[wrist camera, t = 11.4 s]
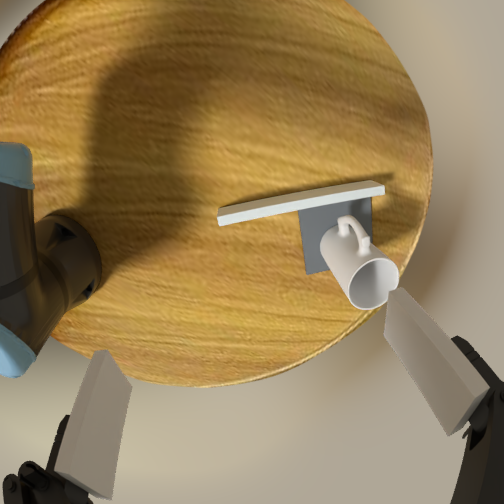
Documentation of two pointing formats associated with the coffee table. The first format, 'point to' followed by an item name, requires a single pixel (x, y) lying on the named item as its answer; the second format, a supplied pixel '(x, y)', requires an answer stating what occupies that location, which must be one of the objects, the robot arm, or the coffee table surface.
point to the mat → (322, 220)
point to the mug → (358, 264)
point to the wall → (298, 201)
